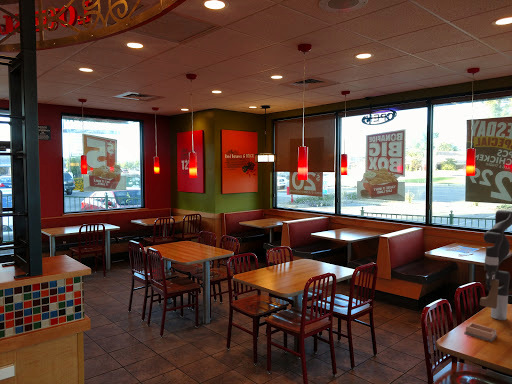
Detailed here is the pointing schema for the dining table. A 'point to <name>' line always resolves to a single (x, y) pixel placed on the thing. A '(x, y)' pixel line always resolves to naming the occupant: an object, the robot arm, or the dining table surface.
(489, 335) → the block holder
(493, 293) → the wooden block
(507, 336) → the dining table surface
